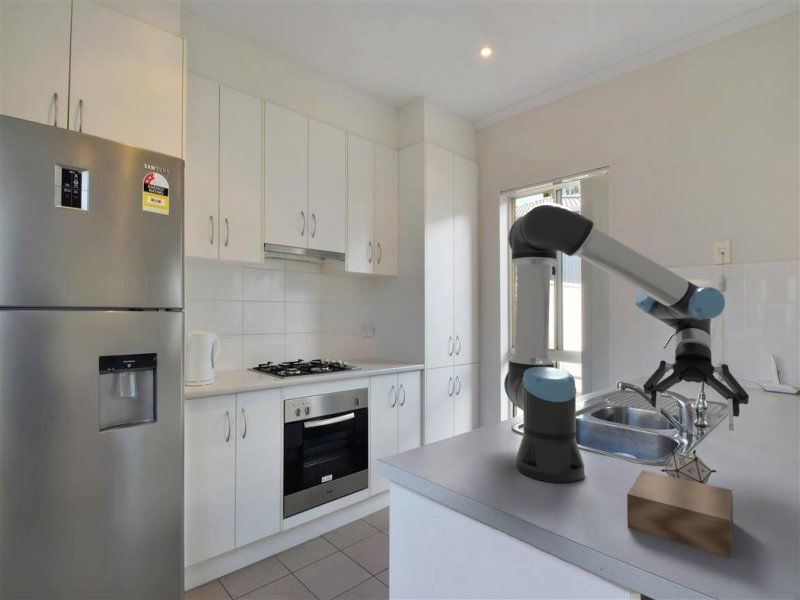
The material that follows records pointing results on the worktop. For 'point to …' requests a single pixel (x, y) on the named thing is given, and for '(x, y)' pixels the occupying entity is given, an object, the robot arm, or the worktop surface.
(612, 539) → the worktop surface
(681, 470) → the game die
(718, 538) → the walnut block
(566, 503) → the worktop surface
